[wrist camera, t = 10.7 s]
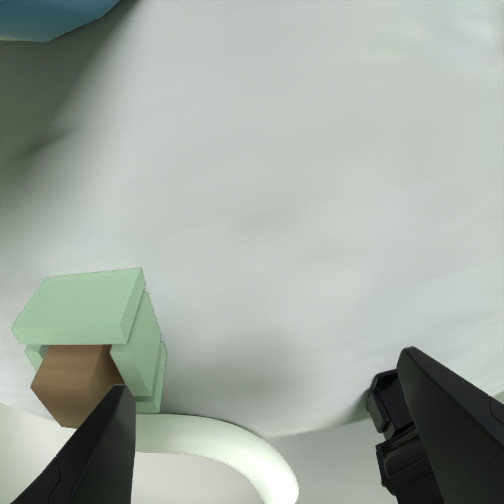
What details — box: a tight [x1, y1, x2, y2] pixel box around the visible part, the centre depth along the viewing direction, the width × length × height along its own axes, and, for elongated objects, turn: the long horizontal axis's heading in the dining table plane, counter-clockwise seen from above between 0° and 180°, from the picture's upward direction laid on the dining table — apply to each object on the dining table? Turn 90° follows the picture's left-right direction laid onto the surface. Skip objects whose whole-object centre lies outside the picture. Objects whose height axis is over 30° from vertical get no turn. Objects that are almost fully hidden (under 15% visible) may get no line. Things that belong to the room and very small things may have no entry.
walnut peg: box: [30, 344, 125, 429], centre depth 18 cm, size 4×4×9 cm
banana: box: [135, 414, 299, 504], centre depth 22 cm, size 5×19×15 cm, turn 72°
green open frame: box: [11, 268, 167, 413], centre depth 19 cm, size 8×8×6 cm
